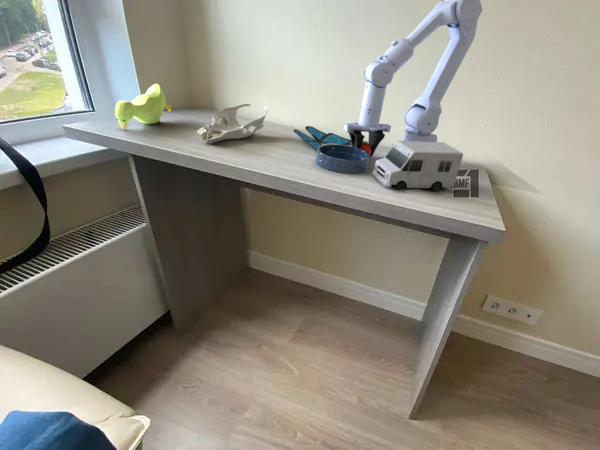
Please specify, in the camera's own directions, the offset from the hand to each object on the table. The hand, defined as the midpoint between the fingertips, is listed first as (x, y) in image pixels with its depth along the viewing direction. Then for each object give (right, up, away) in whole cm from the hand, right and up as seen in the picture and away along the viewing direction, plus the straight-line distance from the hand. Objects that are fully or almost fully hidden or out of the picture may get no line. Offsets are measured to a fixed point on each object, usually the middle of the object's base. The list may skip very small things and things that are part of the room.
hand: (362, 155), depth 109 cm
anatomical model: (-40, +7, +8) cm, 41 cm away
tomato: (0, -1, 0) cm, 1 cm away
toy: (-68, +12, +10) cm, 70 cm away
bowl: (-7, -4, -7) cm, 11 cm away
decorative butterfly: (-13, +5, +9) cm, 17 cm away
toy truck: (+10, -10, -14) cm, 20 cm away
